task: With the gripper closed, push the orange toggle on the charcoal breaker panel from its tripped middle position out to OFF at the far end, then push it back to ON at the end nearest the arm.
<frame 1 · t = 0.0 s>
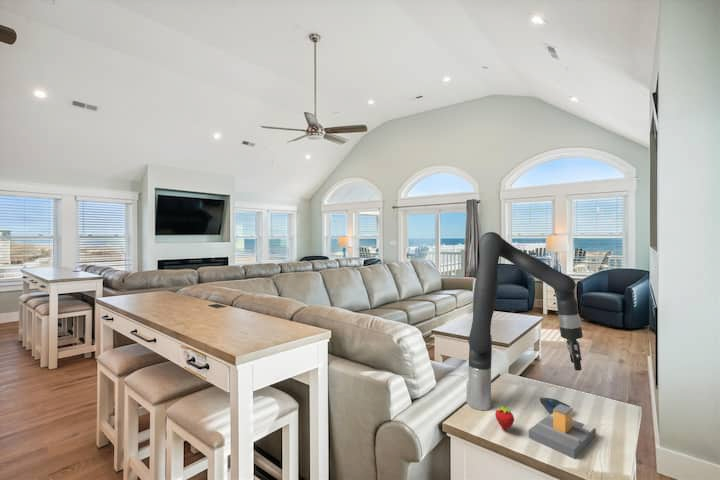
hand: (576, 366, 138), 22 cm above the table, fingers open, 8 cm apart
strawberry: (504, 431, 133), on the table
breaker toggle: (562, 418, 128), point 7 cm above the table, slide at 0.0 cm
seashell: (555, 412, 147), on the table
breaker panel: (562, 437, 129), on the table
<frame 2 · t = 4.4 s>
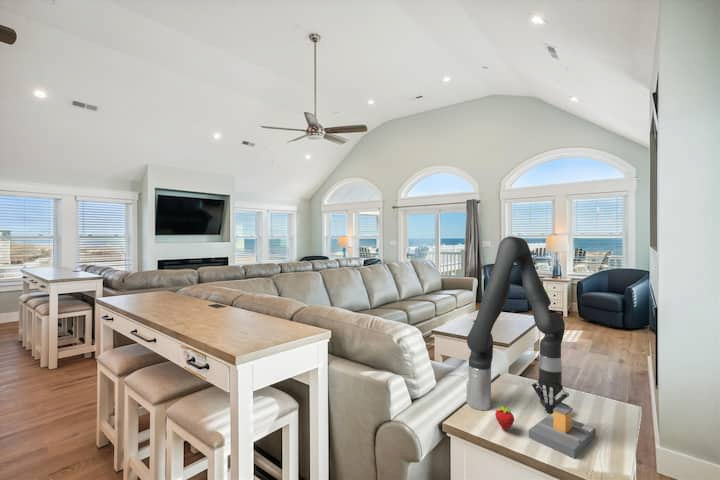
hand: (549, 412, 132), 7 cm above the table, fingers closed
breaker toggle: (562, 418, 128), point 7 cm above the table, slide at 0.1 cm, touching gripper
everything else where it was.
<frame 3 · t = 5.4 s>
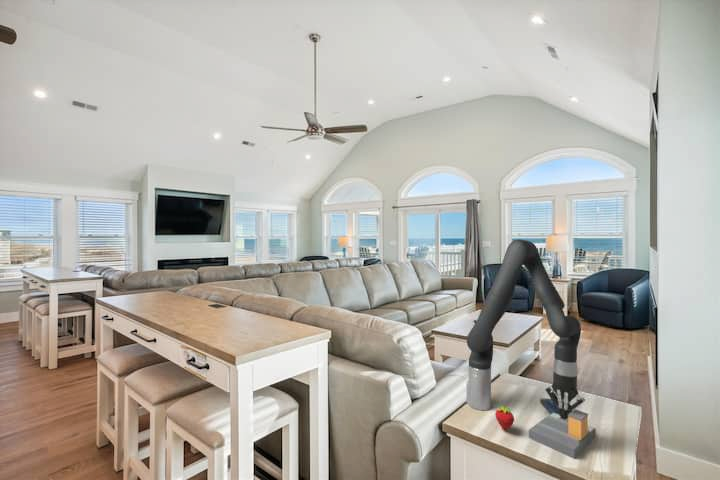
hand: (564, 418, 128), 7 cm above the table, fingers closed
breaker toggle: (578, 424, 124), point 7 cm above the table, slide at 5.1 cm, touching gripper
everything else where it was.
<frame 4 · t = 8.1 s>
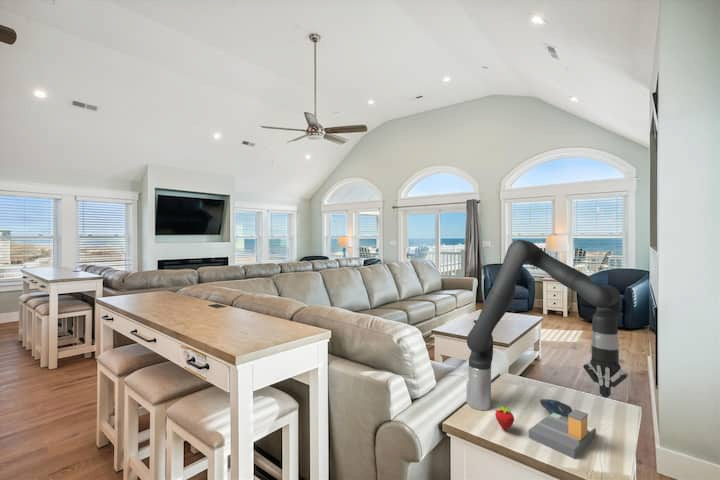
hand: (605, 396, 118), 20 cm above the table, fingers closed
breaker toggle: (577, 424, 124), point 7 cm above the table, slide at 5.0 cm
everything else where it was.
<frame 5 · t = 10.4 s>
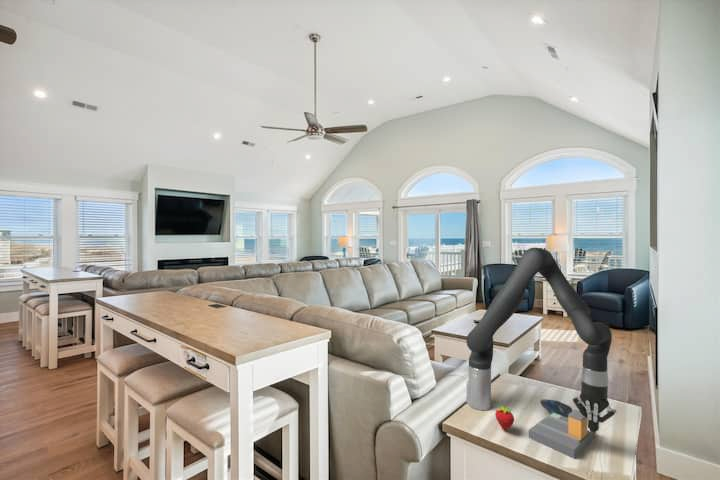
hand: (593, 430, 121), 7 cm above the table, fingers closed
breaker toggle: (577, 424, 124), point 7 cm above the table, slide at 5.0 cm, touching gripper
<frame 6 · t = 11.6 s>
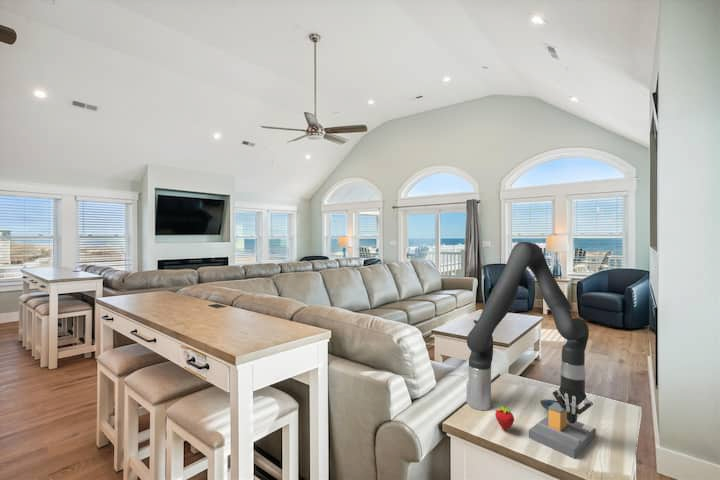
hand: (571, 422, 126), 7 cm above the table, fingers closed
breaker toggle: (557, 416, 130), point 7 cm above the table, slide at -1.7 cm, touching gripper
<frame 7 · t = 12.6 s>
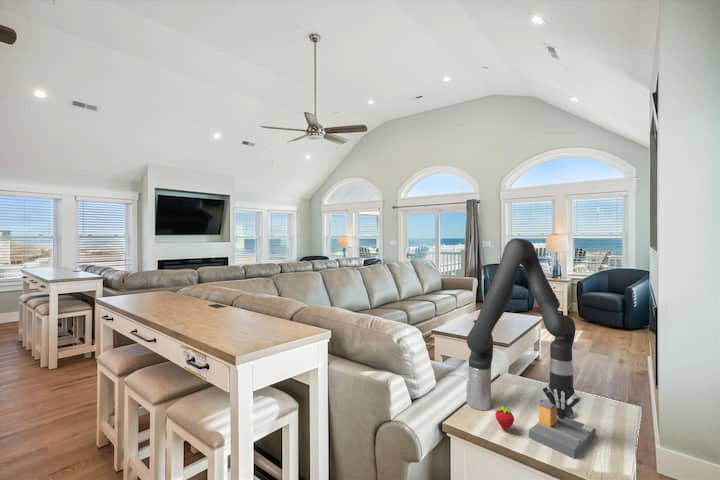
hand: (561, 417, 129), 7 cm above the table, fingers closed
breaker toggle: (548, 412, 132), point 7 cm above the table, slide at -5.1 cm, touching gripper
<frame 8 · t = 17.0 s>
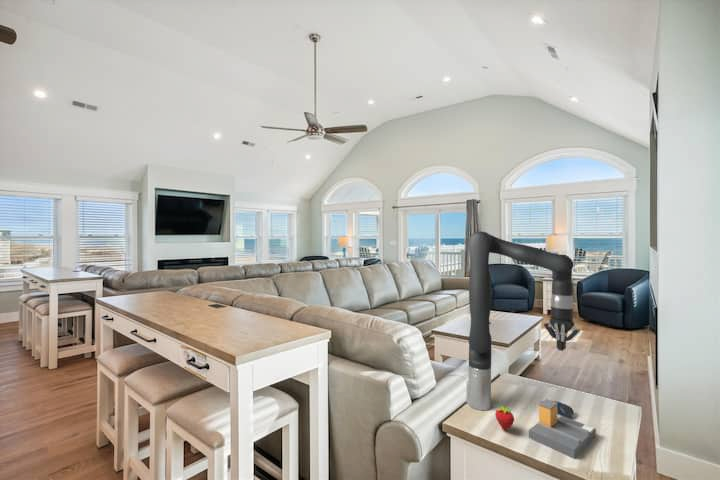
hand: (561, 350, 137), 29 cm above the table, fingers closed
breaker toggle: (548, 412, 132), point 7 cm above the table, slide at -5.0 cm
at the end: breaker toggle slide at -5.0 cm; seashell moved 1.9 cm from its start; strawberry moved 0.2 cm from its start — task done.
